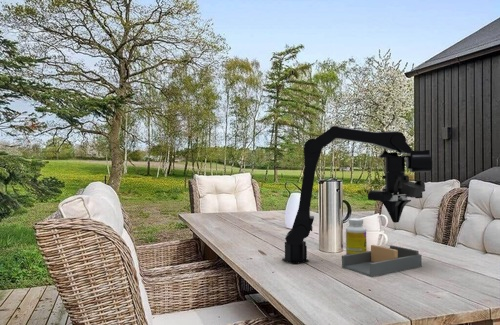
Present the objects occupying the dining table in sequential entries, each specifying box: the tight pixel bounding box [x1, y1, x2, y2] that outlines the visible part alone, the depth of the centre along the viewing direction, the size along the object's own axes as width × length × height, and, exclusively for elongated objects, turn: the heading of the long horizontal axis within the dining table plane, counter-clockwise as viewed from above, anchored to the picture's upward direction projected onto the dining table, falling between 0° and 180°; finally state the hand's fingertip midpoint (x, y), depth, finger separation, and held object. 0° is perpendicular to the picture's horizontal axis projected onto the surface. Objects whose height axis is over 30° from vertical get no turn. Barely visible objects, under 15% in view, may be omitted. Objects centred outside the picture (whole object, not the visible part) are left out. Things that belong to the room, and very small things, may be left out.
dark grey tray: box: [341, 244, 423, 278], centre depth 118 cm, size 21×12×5 cm, turn 120°
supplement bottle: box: [345, 217, 367, 255], centre depth 131 cm, size 7×7×13 cm
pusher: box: [370, 244, 398, 262], centre depth 119 cm, size 1×9×5 cm, turn 30°
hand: (395, 222), depth 122 cm, fingers closed
